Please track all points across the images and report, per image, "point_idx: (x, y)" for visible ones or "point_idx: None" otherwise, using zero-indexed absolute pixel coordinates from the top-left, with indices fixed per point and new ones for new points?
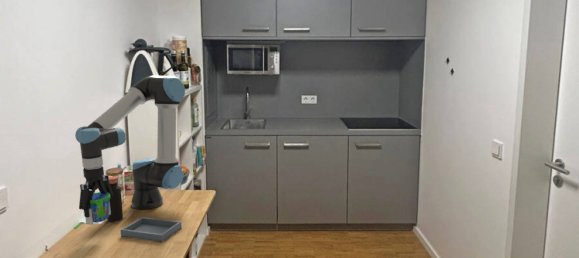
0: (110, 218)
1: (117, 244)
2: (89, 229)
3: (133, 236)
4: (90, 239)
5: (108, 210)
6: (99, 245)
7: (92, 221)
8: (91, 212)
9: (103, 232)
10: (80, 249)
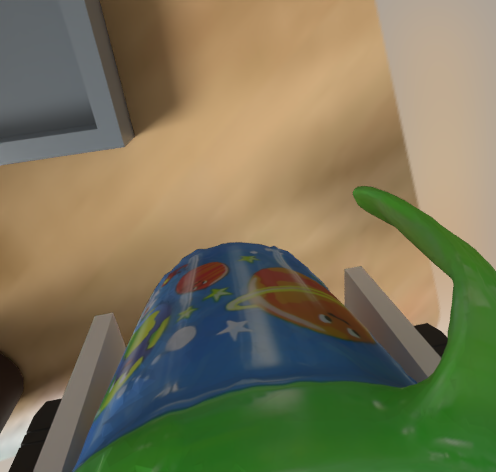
0: (9, 387)
1: (246, 48)
2: None
3: (97, 4)
4: None
5: (184, 291)
6: (304, 159)
7: (359, 282)
8: (411, 350)
9: (150, 289)
10: None
